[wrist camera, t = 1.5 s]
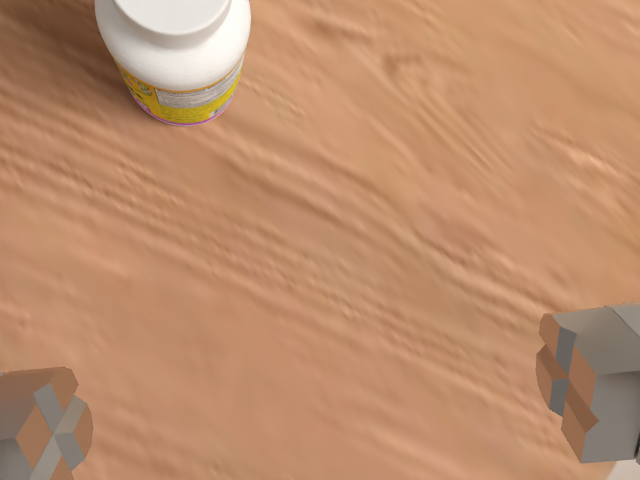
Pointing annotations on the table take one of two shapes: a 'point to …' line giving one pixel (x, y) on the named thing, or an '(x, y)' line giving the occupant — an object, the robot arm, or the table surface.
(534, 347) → the table surface
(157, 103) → the supplement bottle
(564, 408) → the robot arm
